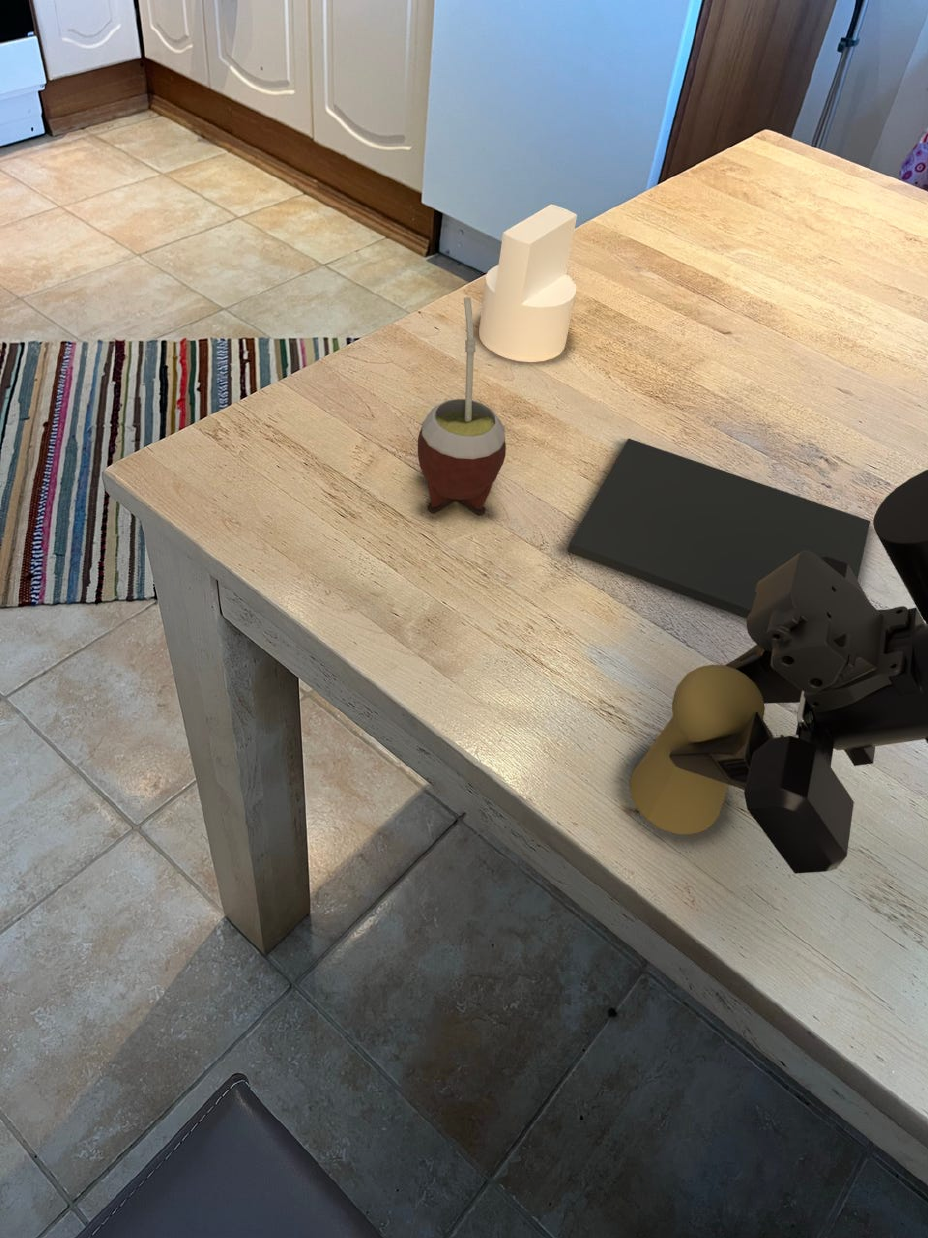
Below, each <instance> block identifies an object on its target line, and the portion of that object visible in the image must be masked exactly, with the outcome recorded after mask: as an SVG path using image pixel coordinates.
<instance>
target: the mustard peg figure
mask: <svg viewBox="0 0 928 1238" xmlns="http://www.w3.org/2000/svg"><path fill="white" fill-rule="evenodd" d="M671 711H672V717H671V718H670V720H669V721H668V722H667V724H666V725H665V726H664V728H663V729H662V730H661V732H660V733H659V735H658V736H657V738H656V739H655V741H654V742H653V744H652V745H651V746H650V747H649V748H648V750H647V752H646V753H645V754H644V755H643V757H642V759H641V760H640V761H639V763H637V766H636V767H635V768H634V770H633V771H632V774H631V778H630V782H629V787H630V789H629V790H630V797H631V799H632V801H633V803H634V805H635V807H636V809H637V810H638V811H639V812H640V813H641V815H642V816H643V817H644V819H646V820H647V821H648V822H649V823H651V824H653V825H654V826H656V827H657V828H659V829H661V830H664V831H667V832H670V833H673V834H677V835H678V834H679V835H692V834H696V833H697V834H698V833H701V832H704V831H706V830H707V829H708V828H710V827H711V826H713V825H714V823H715V822H716V821H717V819H718V818H719V816H720V814H721V811H722V808H723V805H724V801H725V798H726V794H727V791H728V789H729V785H728V784H725V783H722V782H720V781H717V780H714V779H711V778H708V777H705V776H702V775H699V774H696V773H693V772H690V771H687V770H684V769H681V768H678V767H676V766H675V765H674V764H673V762H672V761H671V760H670V758H669V753H670V751H671V750H674V749H677V748H680V747H682V746H685V745H688V744H692V743H697V742H701V741H706V740H710V739H715V738H719V737H724V736H728V735H733V734H737V733H741V732H742V731H743V730H744V729H745V727H746V725H747V723H748V722H749V720H750V718H751V717H752V715H753V713H754V712H756V711H757V712H758V713H759V715H760V716H761V718H762V719H763V720H764V718H765V712H766V706H765V704H764V702H763V698H762V695H761V692H760V691H759V689H758V688H757V686H756V684H755V683H754V682H753V681H752V680H751V679H750V678H749V677H748V676H746V675H745V674H743V673H741V672H740V671H738V670H736V669H734V668H730V667H727V666H725V665H723V664H709V665H703V666H700V667H696V668H695V669H693V670H691V671H689V672H687V673H686V675H685V676H683V678H682V679H681V681H679V683H678V684H677V685H676V688H675V690H674V693H673V697H672V701H671Z"/></svg>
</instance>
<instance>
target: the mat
mask: <svg viewBox="0 0 928 1238" xmlns="http://www.w3.org/2000/svg"><path fill="white" fill-rule="evenodd" d="M870 525H871V520H869V519H867V518H863V517H860V516H858V515H855V514H851V513H848V512H845V511H842V510H840V509H836V508H834V507H831V506H828V505H825V504H822V503H819V502H817V501H814V500H811V499H807V498H805V497H802V496H799V495H795V494H794V493H790V492H787V491H784V490H781V489H778V488H775V487H773V486H770V485H766V484H763V483H762V482H761V483H760V482H758V481H754V480H752V479H749V478H746V477H742V476H740V475H737V474H734V473H731V472H728V471H726V470H723V469H720V468H717V467H713V466H711V465H707V464H704V463H702V462H699V461H697V460H693V459H690V458H688V457H684V456H681V455H679V454H676V453H673V452H670V451H667V450H664V449H661V448H658V447H655V446H652V445H649V444H646V443H643V442H640V441H637V440H635V439H632V438H627V440H626V441H625V444H623V447H622V449H621V451H620V452H619V454H618V456H617V458H616V459H615V462H614V463H613V465H612V467H611V469H610V470H609V472H608V474H607V476H606V478H605V479H604V482H603V483H602V485H601V487H600V488H599V490H598V492H597V494H596V495H595V497H594V499H593V501H592V502H591V504H590V507H589V508H588V510H587V512H586V513H585V515H584V517H583V519H582V521H580V524H579V526H578V528H577V530H576V532H575V533H574V535H573V537H572V538H571V541H570V542H569V545H568V549H567V553H570V554H573V555H575V556H577V557H581V558H583V559H586V560H589V561H590V562H593V563H595V564H599V565H602V566H605V567H607V568H610V569H613V570H616V571H618V572H621V573H623V574H626V575H629V576H631V577H634V578H637V579H639V580H643V581H645V582H647V583H650V584H653V585H656V586H658V587H661V588H664V589H666V590H669V591H672V592H675V593H677V594H679V595H683V596H684V597H688V598H690V599H693V600H696V601H698V602H701V603H704V604H707V605H709V606H712V607H715V608H716V609H720V610H723V611H725V612H728V613H731V614H733V615H736V616H738V617H742V618H744V619H747V618H748V615H749V614H750V613H751V611H752V608H753V604H754V600H755V597H756V593H757V592H756V591H755V588H756V585H757V583H758V582H759V581H760V580H762V579H763V578H765V577H766V576H767V575H769V574H770V573H772V572H773V571H775V570H776V569H778V568H779V567H780V566H782V565H783V564H785V563H786V562H788V561H789V560H790V559H792V558H793V557H795V556H796V555H798V554H799V553H801V552H802V551H810V552H812V553H814V554H815V555H817V556H818V557H819V558H821V557H825V556H827V557H830V558H833V559H836V560H839V561H842V562H845V563H848V565H849V567H850V568H851V570H852V572H853V574H854V575H855V577H856V579H857V581H858V579H859V575H860V570H861V568H862V567H861V566H862V562H863V558H864V557H863V556H864V552H865V549H866V544H867V538H868V534H869V530H870Z"/></svg>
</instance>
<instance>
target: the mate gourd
mask: <svg viewBox="0 0 928 1238" xmlns="http://www.w3.org/2000/svg"><path fill="white" fill-rule="evenodd" d="M463 306H464V316H465V317H464V318H465V327H466V328H465V330H466V340H465V339H464V340H465V341H464V353H465V354H466V357H465V359H466V360H465V394H464V398H455V399H454V398H453V399H448V400H445V401H443V402H440V403H439V404H437V405H436V406H434V407H433V408H432V409H431V411H430V412H429V413H428V414H427V415H426V417H425V418H424V420H423V421H422V422H421V428H420V430H419V433H418V437H417V459H418V463H419V468H420V470H421V473H422V475H423V477H424V479H425V480H426V482H427V484H428V491H429V496H430V501H431V502H430V503H429V504H427V511H428V512H429V513H431V514H433V515H435V514H436V513H439V512H440V511H442V510H443V509H445V508H446V507H448V506H450V505H451V504H453V503H455V502H456V503H458V504H460V505H462V506H463V507H464V508H466V509H467V510H469V511H470V512H472V513H473V514H475V515H476V516H478V517H482V516H483V515H485V514H486V511H487V508H485V506H484V504H485V502H486V501H487V499H488V497H489V495H490V493H491V490H492V486H493V483H494V482H495V481H496V479H497V477H498V475H499V473H500V471H501V469H502V467H503V465H504V462H505V459H506V451H507V444H506V433H505V426H504V424H503V422H502V420H501V419H500V418H499V417H498V415H497V413H495V411H494V409H492V408H491V407H490V406H488V405H487V404H484V403H483V402H480V401H477V400H474V399H473V387H474V386H473V384H474V359H475V358H474V356H475V355H474V354H475V353H476V339H475V332H474V330H475V329H474V320H473V310H472V299H471V297H470V296H465V297H463Z"/></svg>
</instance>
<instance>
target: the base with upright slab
mask: <svg viewBox="0 0 928 1238" xmlns="http://www.w3.org/2000/svg"><path fill="white" fill-rule="evenodd" d="M577 219H578V214H577V213H575V212H573V211H571V210H569V209H567V208H565V207H561V206H558V205H555V204H549V205H548V206H545V207H544V208H542V209H540V210H538V211H536V212H535V213H534V214H532V215H530V216H528V217H527V218H525V219H523V220H522V221H520V222H518V223H517V224H515V225H513V226H511V227H510V228H508V229H506V230H505V231H503V232H502V238H501V246H500V253H499V260H498V264H497V265H495V266H493V267H491V269H489V270H488V271H487V273H486V275H485V281H484V289H483V296H482V304H481V312H480V320H479V327H478V335H479V336H478V337H479V339H480V341H481V343H482V345H483V346H485V348H487V349H488V350H489V351H491V352H493V353H494V354H496V355H498V356H500V357H502V358H505V359H508V360H512V361H516V362H517V361H518V362H524V363H525V362H527V363H535V362H537V363H538V362H544V361H549V360H553V359H554V358H556V357H557V356H559V355H560V354H561V353H562V352H563V351H564V350H565V347H566V345H567V344H566V343H567V340H568V333H569V329H570V324H571V319H572V314H573V309H574V305H575V299H576V295H577V285H576V282H575V281H574V280H573V278H572V277H571V276H569V275H568V274H567V271H568V266H569V261H570V256H571V250H572V244H573V240H574V235H575V228H576V224H577Z"/></svg>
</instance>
